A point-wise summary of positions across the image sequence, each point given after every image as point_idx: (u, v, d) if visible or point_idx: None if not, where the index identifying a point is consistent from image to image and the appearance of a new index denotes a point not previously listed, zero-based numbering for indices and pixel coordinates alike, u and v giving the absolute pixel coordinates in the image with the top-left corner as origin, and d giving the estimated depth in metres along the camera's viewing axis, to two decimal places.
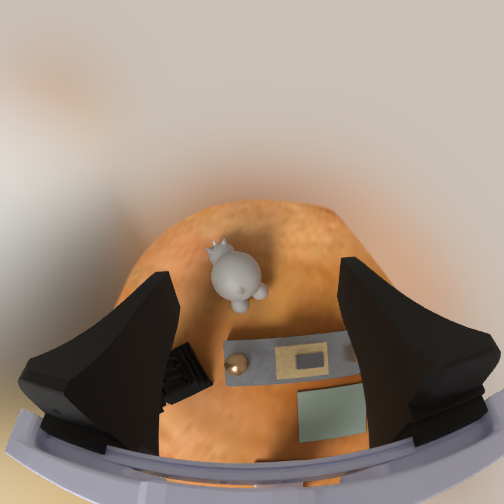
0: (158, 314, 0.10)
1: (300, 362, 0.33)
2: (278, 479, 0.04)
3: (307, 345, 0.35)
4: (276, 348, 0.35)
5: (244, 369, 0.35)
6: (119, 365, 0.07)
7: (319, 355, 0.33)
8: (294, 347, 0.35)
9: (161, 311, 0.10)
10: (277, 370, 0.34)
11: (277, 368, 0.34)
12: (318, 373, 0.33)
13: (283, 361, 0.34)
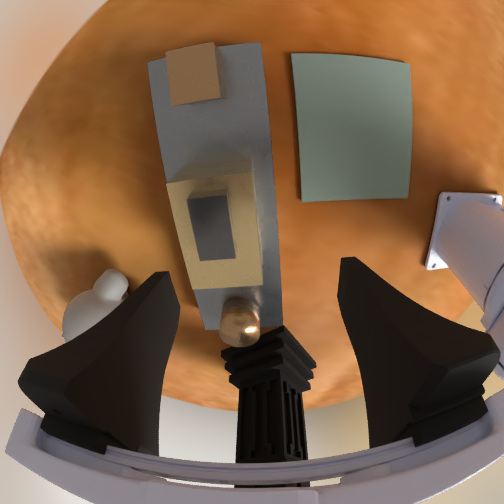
0: (157, 314, 0.10)
1: (217, 250, 0.15)
2: (278, 479, 0.04)
3: (179, 227, 0.15)
4: (194, 286, 0.17)
5: (246, 323, 0.20)
6: (118, 365, 0.07)
7: (196, 208, 0.13)
8: (187, 254, 0.16)
9: (161, 311, 0.10)
10: (242, 284, 0.17)
11: (237, 284, 0.17)
12: (248, 199, 0.14)
13: (220, 273, 0.17)
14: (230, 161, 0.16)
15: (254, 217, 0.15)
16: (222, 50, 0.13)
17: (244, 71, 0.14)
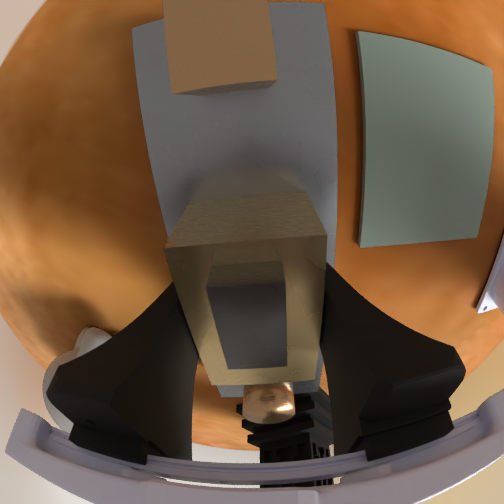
0: None
1: (259, 358, 0.08)
2: (278, 479, 0.04)
3: (190, 316, 0.09)
4: (215, 382, 0.11)
5: (279, 405, 0.14)
6: (158, 368, 0.06)
7: (224, 302, 0.07)
8: (204, 349, 0.10)
9: None
10: (285, 380, 0.11)
11: (279, 381, 0.11)
12: (316, 277, 0.08)
13: (256, 371, 0.10)
14: (270, 195, 0.10)
15: (320, 303, 0.08)
16: None
17: (299, 44, 0.07)
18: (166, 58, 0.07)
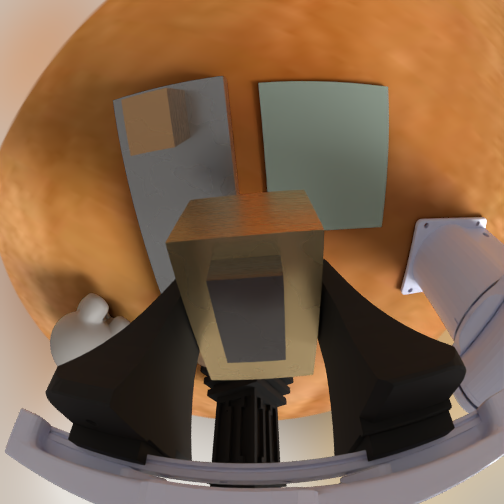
0: None
1: (258, 352, 0.09)
2: (278, 479, 0.04)
3: (191, 310, 0.09)
4: (214, 377, 0.11)
5: None
6: (158, 368, 0.06)
7: (224, 295, 0.07)
8: (204, 343, 0.10)
9: None
10: (284, 375, 0.11)
11: (277, 376, 0.11)
12: (313, 271, 0.08)
13: (255, 365, 0.11)
14: (269, 192, 0.10)
15: (318, 298, 0.09)
16: (184, 86, 0.13)
17: (206, 108, 0.14)
18: None
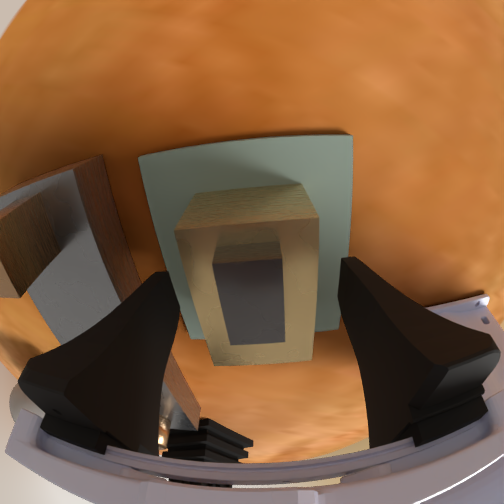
0: (158, 314, 0.10)
1: (259, 334, 0.09)
2: (278, 479, 0.04)
3: (196, 295, 0.10)
4: (217, 363, 0.12)
5: None
6: (119, 365, 0.07)
7: (228, 277, 0.08)
8: (207, 328, 0.11)
9: (161, 311, 0.10)
10: (284, 360, 0.12)
11: (278, 361, 0.12)
12: (310, 257, 0.09)
13: (256, 350, 0.11)
14: (269, 186, 0.11)
15: (315, 282, 0.09)
16: (39, 187, 0.09)
17: (66, 216, 0.10)
18: None
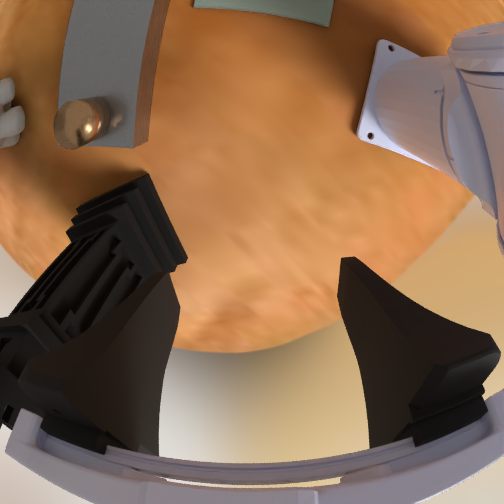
0: (157, 314, 0.10)
1: None
2: (278, 479, 0.04)
3: None
4: None
5: (79, 106, 0.12)
6: (118, 365, 0.07)
7: None
8: None
9: (161, 311, 0.10)
10: None
11: None
12: None
13: None
14: None
15: None
16: None
17: None
18: None
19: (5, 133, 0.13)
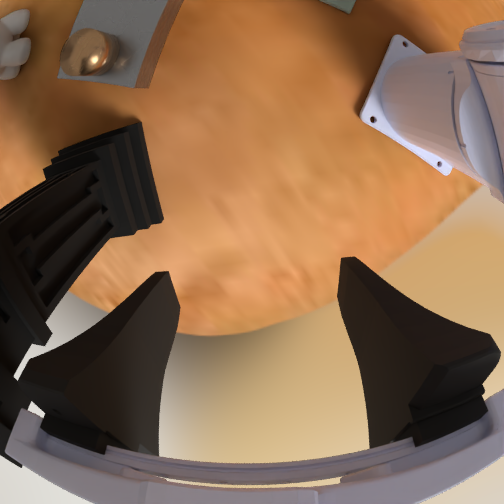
0: (158, 314, 0.10)
1: None
2: (278, 479, 0.04)
3: None
4: None
5: (93, 34, 0.10)
6: (118, 365, 0.07)
7: None
8: None
9: (161, 311, 0.10)
10: None
11: None
12: None
13: None
14: None
15: None
16: None
17: None
18: None
19: (7, 61, 0.10)
